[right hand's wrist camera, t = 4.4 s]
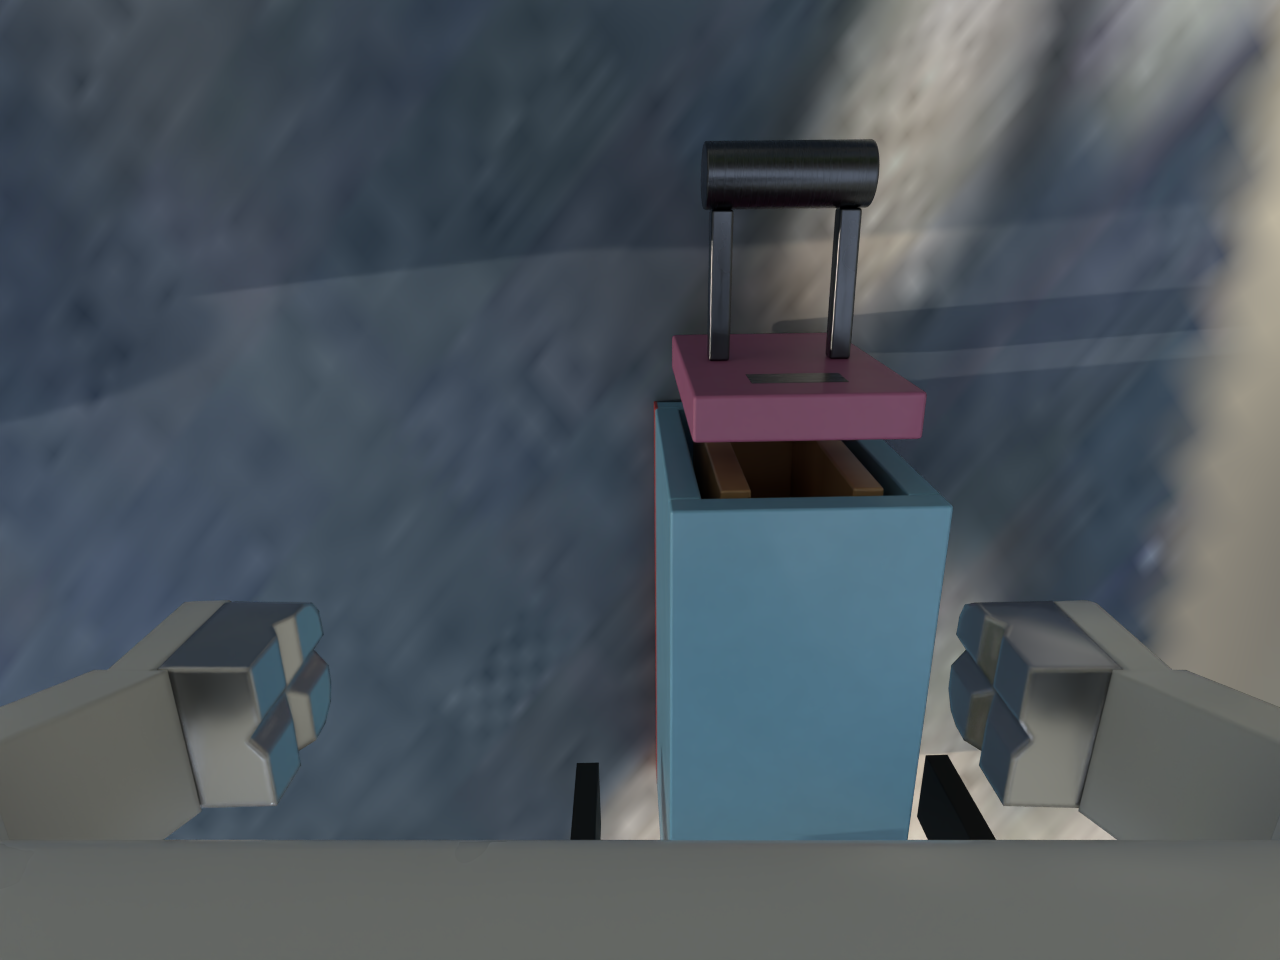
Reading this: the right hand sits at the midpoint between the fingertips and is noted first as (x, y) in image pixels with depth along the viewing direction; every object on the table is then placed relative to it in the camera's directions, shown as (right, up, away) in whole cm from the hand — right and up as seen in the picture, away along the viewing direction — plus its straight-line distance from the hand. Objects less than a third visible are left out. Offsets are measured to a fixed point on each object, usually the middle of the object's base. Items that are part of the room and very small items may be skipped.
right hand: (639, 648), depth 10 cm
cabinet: (+4, -3, +22) cm, 22 cm away
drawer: (+4, +3, +19) cm, 19 cm away
